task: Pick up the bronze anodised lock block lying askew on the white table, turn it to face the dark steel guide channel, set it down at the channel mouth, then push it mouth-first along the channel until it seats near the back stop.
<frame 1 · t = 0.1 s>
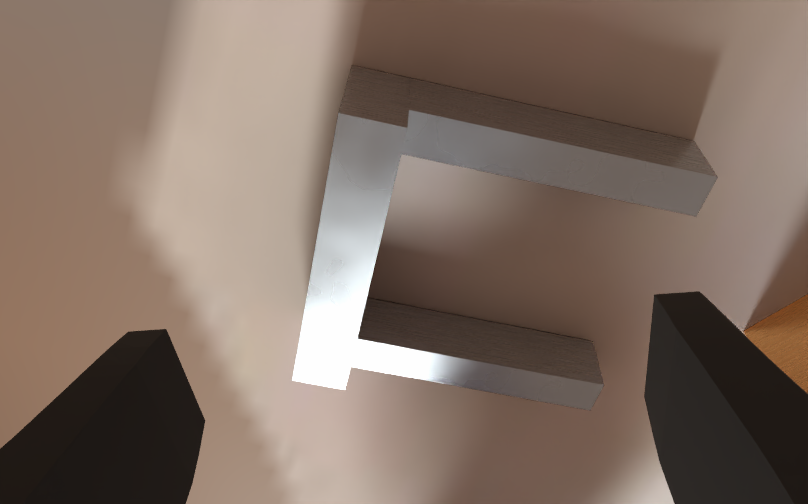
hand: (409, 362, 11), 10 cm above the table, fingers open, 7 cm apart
guide channel: (489, 238, 21), on the table
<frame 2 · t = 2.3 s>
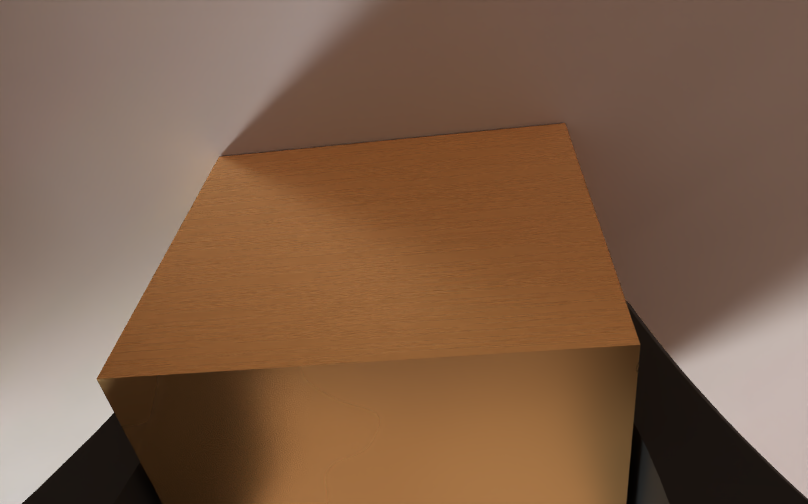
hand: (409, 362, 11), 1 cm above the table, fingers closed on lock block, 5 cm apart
lock block: (412, 302, 12), on the table, touching gripper
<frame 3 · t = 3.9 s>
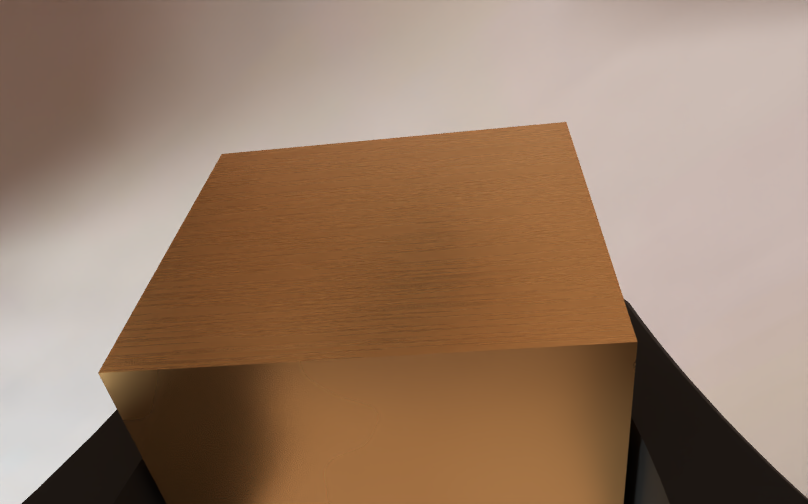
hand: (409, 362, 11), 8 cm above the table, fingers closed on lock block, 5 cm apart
lock block: (413, 300, 12), point 7 cm above the table, touching gripper
when the fingers open (3 cm above the table, at t = 5.8 s): lock block drops 1 cm, on the table.
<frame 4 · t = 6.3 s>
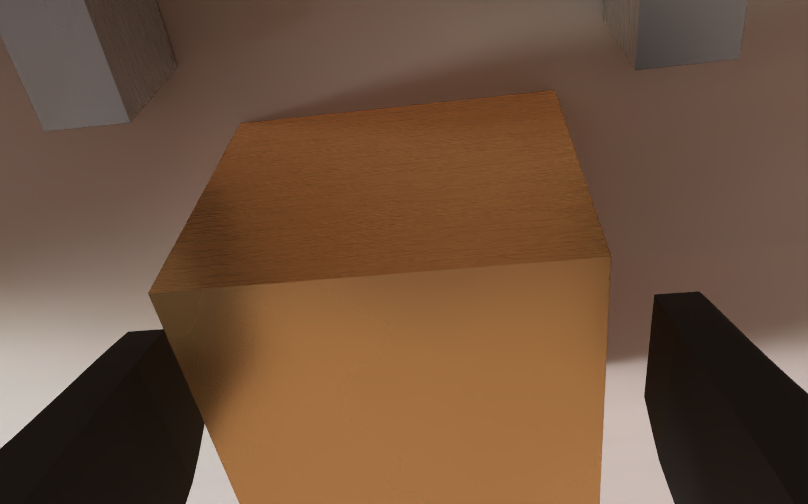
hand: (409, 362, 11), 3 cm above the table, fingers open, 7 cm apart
lock block: (416, 256, 13), on the table
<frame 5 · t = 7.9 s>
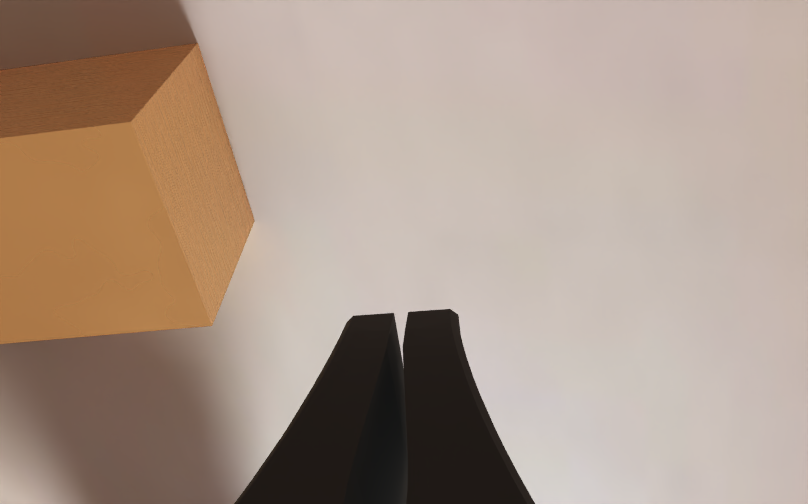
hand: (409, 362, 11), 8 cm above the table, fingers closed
lock block: (119, 149, 18), on the table
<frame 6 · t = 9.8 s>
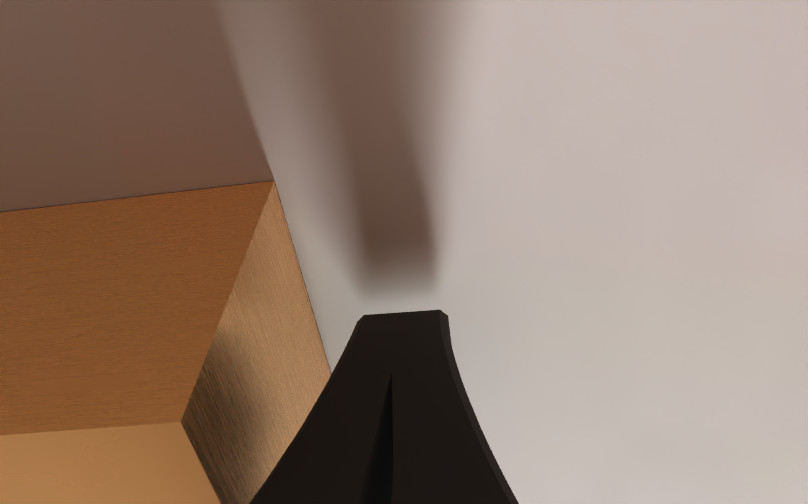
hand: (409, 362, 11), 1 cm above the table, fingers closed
lock block: (141, 328, 12), on the table, touching gripper
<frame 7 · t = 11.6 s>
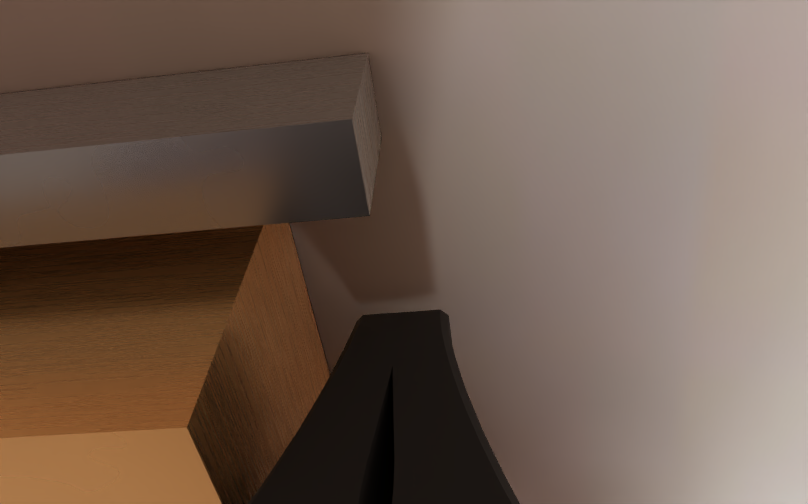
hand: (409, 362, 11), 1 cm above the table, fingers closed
lock block: (141, 328, 12), on the table, touching gripper
guide channel: (148, 333, 12), on the table
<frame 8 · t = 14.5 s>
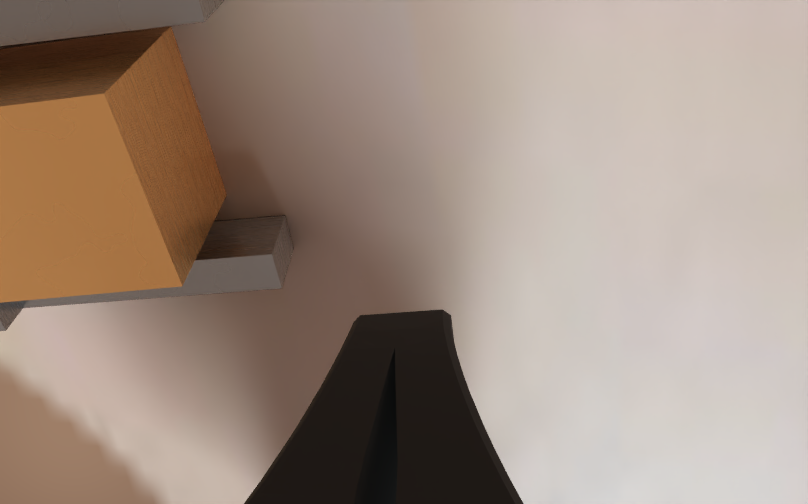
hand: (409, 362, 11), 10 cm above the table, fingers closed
lock block: (100, 126, 20), on the table
guide channel: (102, 132, 20), on the table
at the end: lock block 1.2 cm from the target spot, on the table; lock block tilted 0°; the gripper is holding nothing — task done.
